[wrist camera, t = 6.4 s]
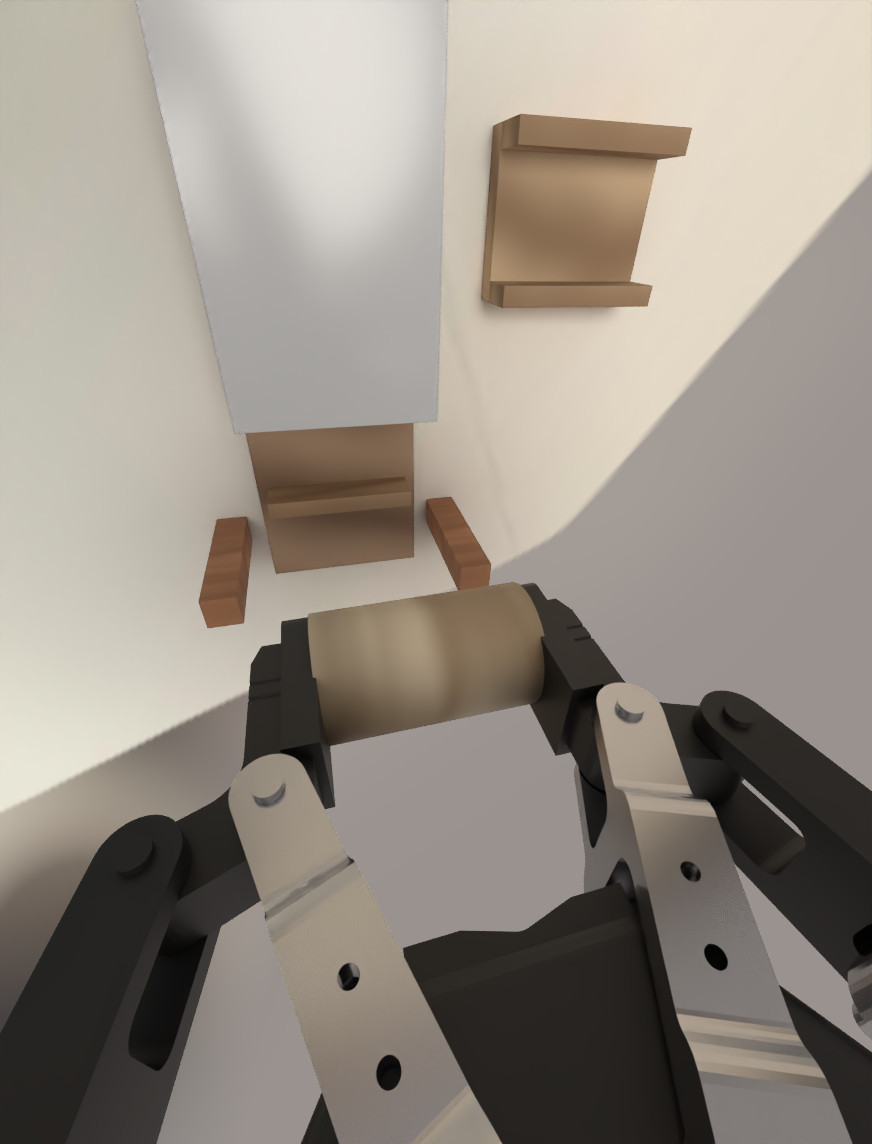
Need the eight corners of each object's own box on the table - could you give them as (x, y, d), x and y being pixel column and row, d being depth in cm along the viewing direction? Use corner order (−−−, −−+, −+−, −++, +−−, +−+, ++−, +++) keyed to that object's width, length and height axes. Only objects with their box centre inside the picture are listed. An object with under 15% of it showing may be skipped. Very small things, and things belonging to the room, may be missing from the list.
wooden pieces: (50, -72, 14) (-100, -256, 9) (674, 14, 18) (838, -71, 13) (230, 569, 28) (217, 656, 22) (565, 530, 32) (622, 594, 27)
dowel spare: (305, 587, 11) (311, 683, 9) (505, 559, 12) (557, 638, 10) (322, 674, 13) (330, 774, 11) (496, 643, 14) (538, 728, 12)
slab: (131, -109, 11) (91, -193, 9) (420, -63, 13) (451, -125, 10) (240, 405, 18) (234, 433, 16) (419, 397, 20) (437, 421, 18)
